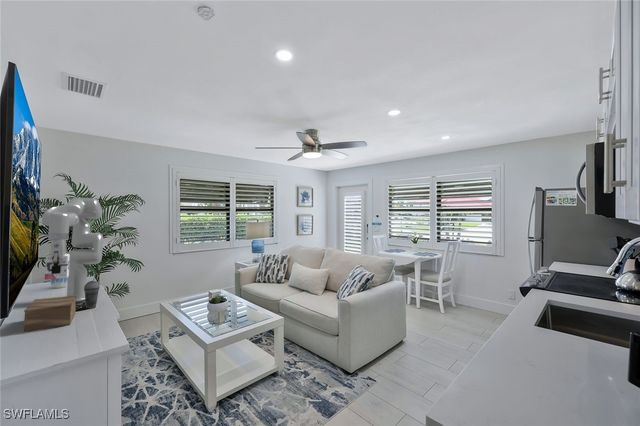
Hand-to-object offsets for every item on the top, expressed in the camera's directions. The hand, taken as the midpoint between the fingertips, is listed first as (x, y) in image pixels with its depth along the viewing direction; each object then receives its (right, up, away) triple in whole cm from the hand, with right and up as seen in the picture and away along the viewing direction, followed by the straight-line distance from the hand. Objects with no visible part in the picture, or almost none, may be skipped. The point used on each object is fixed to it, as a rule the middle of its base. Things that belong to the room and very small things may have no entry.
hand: (57, 272), depth 142 cm
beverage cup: (-1, -26, +22) cm, 34 cm away
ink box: (0, -3, 0) cm, 3 cm away
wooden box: (-2, -25, -1) cm, 25 cm away
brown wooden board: (-1, -16, -1) cm, 16 cm away
